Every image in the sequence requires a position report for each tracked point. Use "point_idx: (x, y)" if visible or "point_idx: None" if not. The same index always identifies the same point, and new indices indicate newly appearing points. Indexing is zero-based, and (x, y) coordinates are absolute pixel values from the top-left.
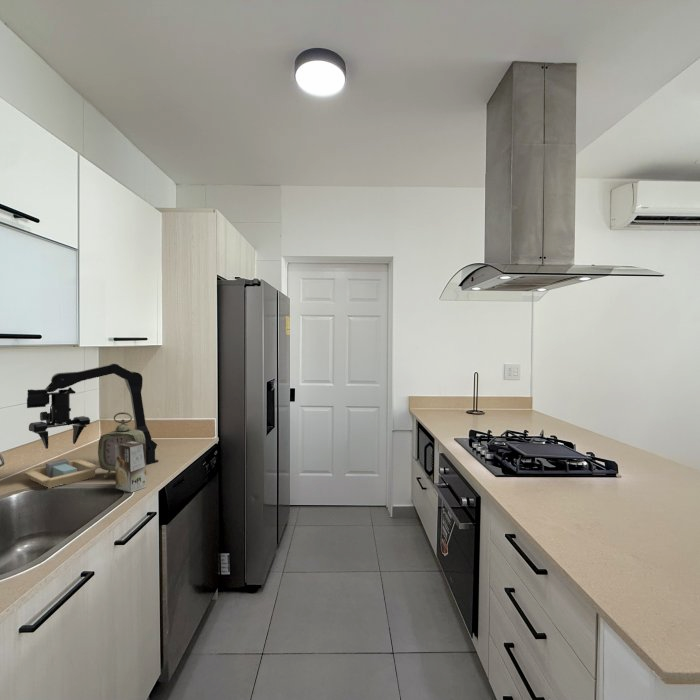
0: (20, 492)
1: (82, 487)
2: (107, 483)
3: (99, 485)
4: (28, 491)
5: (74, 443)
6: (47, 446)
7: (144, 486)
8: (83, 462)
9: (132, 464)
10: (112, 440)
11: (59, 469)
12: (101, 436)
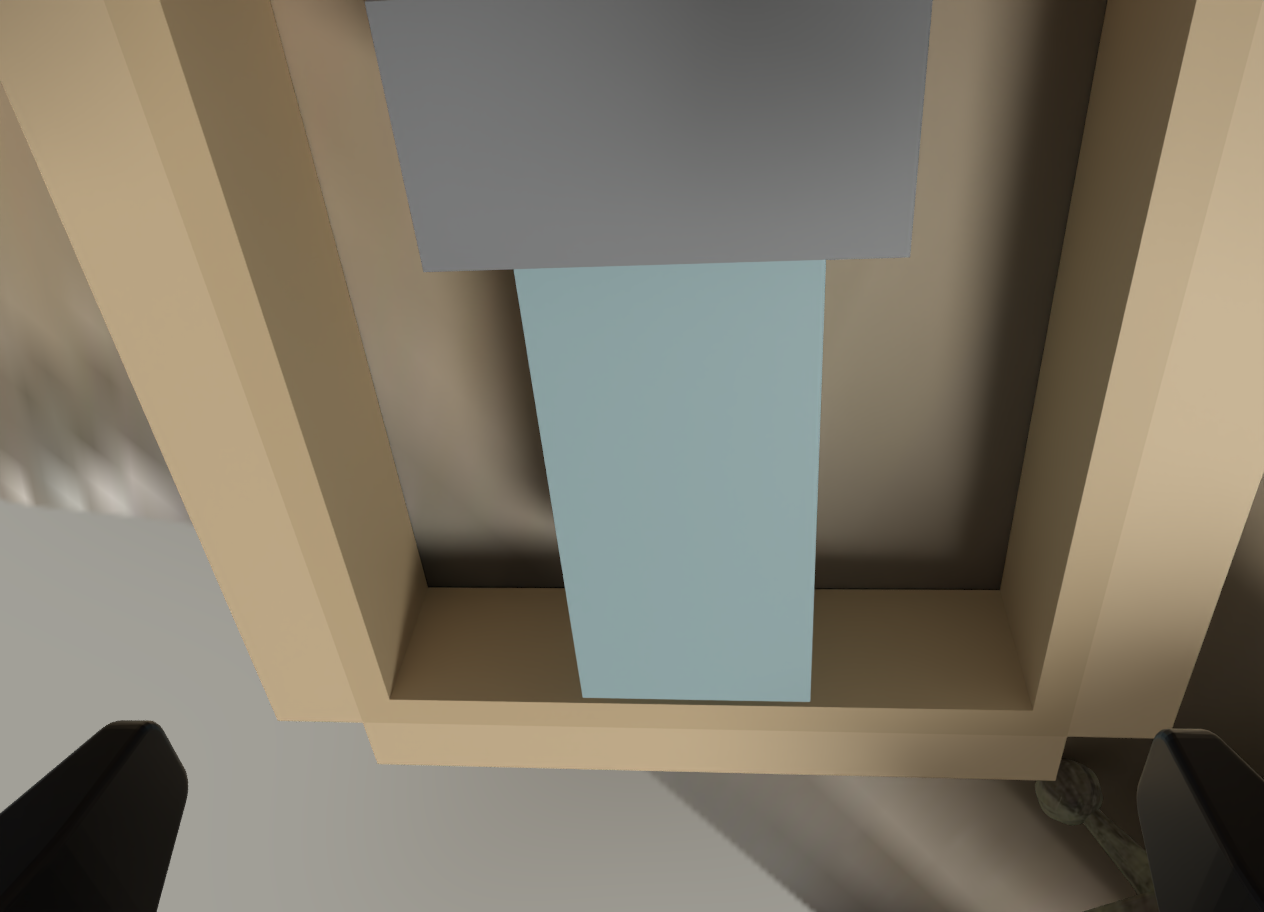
0: (82, 481)
1: (710, 814)
2: (949, 882)
3: (859, 875)
4: (175, 518)
5: (1144, 816)
6: (143, 883)
7: None
8: (1261, 211)
9: None
10: None
11: (568, 551)
12: None
